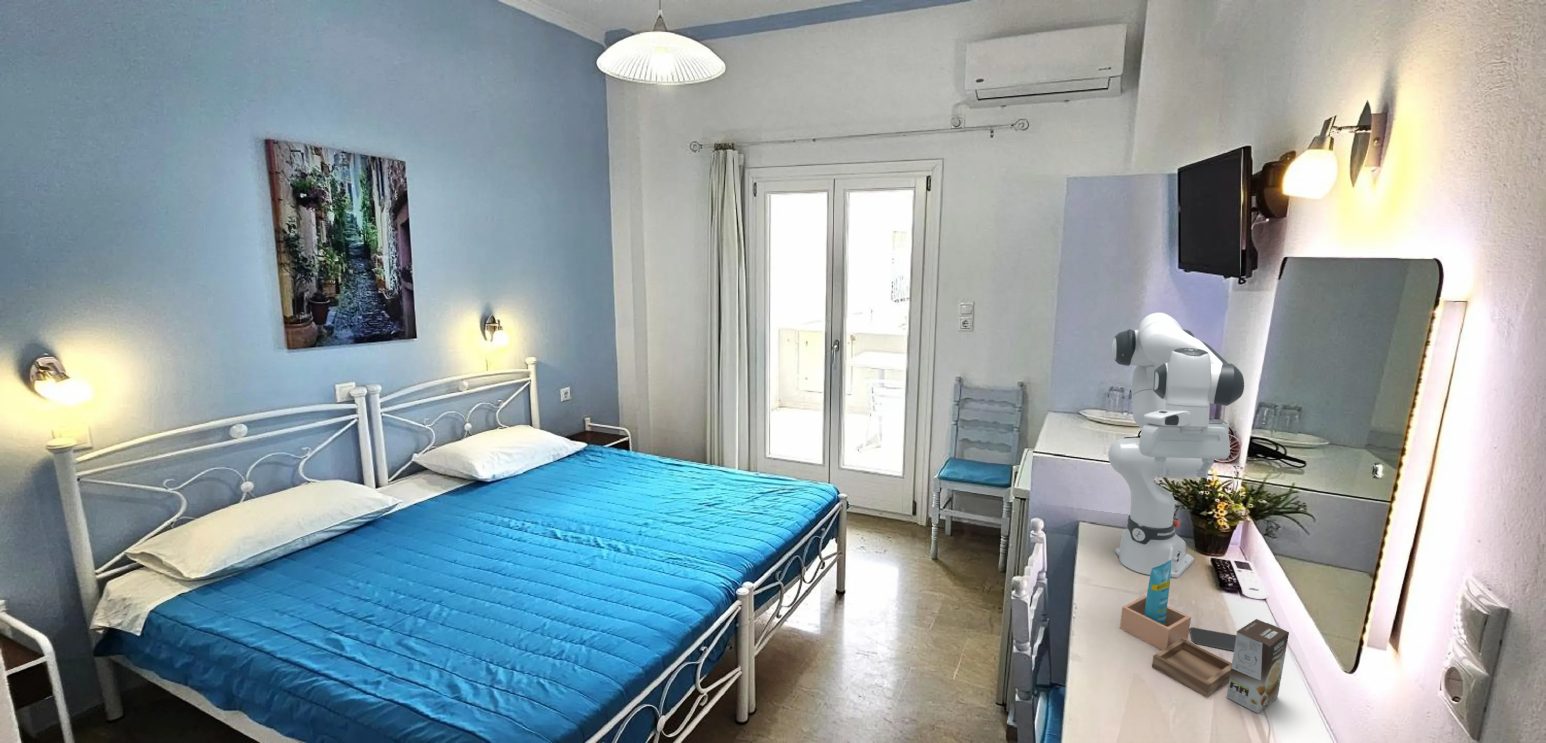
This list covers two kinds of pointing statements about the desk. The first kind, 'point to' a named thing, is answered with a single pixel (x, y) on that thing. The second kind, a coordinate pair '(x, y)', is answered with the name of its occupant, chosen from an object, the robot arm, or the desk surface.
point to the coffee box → (1257, 665)
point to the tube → (1158, 593)
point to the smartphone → (1213, 639)
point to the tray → (1193, 667)
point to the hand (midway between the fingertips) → (1183, 476)
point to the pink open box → (1154, 624)
